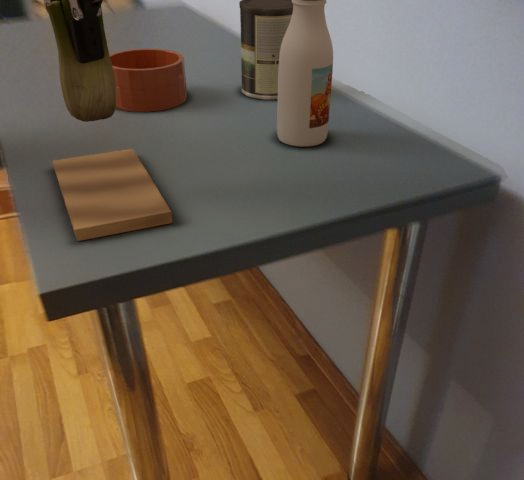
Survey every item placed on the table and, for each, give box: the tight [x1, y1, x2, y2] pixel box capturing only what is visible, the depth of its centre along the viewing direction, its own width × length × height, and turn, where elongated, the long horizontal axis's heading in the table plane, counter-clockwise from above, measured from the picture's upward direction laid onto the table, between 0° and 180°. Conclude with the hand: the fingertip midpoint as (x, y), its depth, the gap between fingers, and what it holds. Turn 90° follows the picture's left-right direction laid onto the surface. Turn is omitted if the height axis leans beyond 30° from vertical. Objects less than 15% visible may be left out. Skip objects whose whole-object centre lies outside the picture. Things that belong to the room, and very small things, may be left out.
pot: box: [109, 48, 188, 113], centre depth 95 cm, size 14×14×6 cm
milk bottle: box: [276, 0, 334, 147], centre depth 77 cm, size 8×8×20 cm
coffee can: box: [238, 0, 293, 101], centre depth 96 cm, size 10×10×14 cm
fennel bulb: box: [46, 0, 116, 123], centre depth 59 cm, size 6×5×12 cm
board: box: [51, 148, 174, 242], centre depth 69 cm, size 20×11×2 cm, turn 23°
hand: (82, 56), depth 59 cm, fingers closed on fennel bulb
